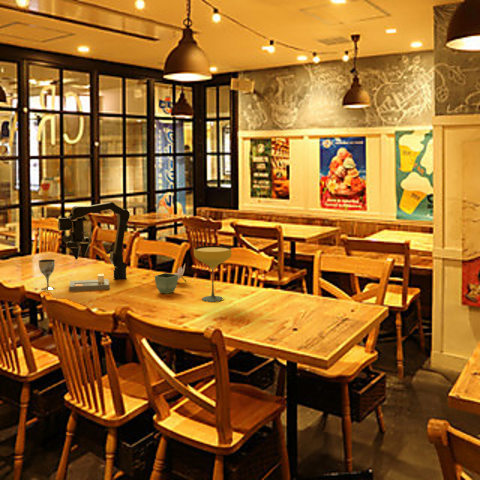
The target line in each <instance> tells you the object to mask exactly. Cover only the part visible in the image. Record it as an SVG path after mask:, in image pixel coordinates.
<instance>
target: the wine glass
mask: <svg viewBox="0 0 480 480" xmlns="http://www.w3.org/2000/svg"><path fill="white" fill-rule="evenodd" d="M55 263H56V261H55V259H52V258H51V259H50V258H48V259H47V258H46V259H41V260H40V259H39V260H38V268H39V271H40V273H41V274H42V275H43V276H44V277H45V280H46V286H45V287H42V288H40V290H41V291H52V290H55V289H56V288H55V287H53V286H50V284H49V283H50V279H49V278H50V276H52V274H53V273H54V271H55V267H56V264H55Z"/></svg>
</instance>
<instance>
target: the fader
mask: <svg viewBox="0 0 480 480" xmlns="http://www.w3.org/2000/svg"><path fill="white" fill-rule="evenodd" d="M104 279H105V275H104V273H98V274H97V280H98V283H101V282H104Z"/></svg>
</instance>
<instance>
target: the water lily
mask: <svg viewBox="0 0 480 480" xmlns="http://www.w3.org/2000/svg"><path fill="white" fill-rule="evenodd" d="M185 268H186V264H184V265H183V266H180V267H179V266H178V269H177V272H174V273H173V274H175V275H178V281H179V280H180V279H182V280H183V281H184V282H185V283H186V282H187V283H188V281H187V280H186V279H185V278H184V277H183V275H184V273H185Z"/></svg>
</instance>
